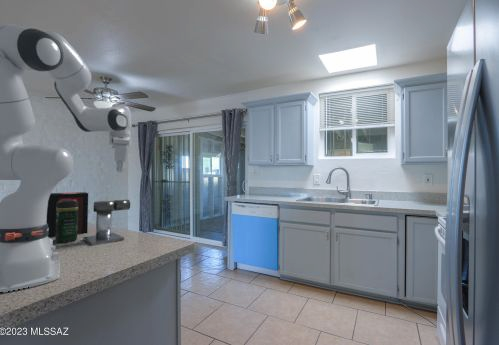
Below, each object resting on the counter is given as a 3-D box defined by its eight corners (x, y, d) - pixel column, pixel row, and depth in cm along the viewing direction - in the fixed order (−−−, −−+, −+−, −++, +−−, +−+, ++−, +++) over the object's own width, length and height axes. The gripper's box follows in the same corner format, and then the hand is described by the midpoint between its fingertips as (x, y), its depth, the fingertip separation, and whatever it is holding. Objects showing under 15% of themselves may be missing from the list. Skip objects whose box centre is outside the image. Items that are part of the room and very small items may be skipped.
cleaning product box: (45, 237, 118) (46, 194, 119) (45, 234, 125) (46, 193, 125) (87, 233, 129) (88, 193, 129) (84, 230, 136) (85, 192, 136)
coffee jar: (79, 241, 114) (80, 199, 114) (56, 244, 108) (57, 200, 109) (75, 237, 121) (76, 197, 121) (54, 239, 116) (55, 198, 116)
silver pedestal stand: (124, 240, 117) (124, 211, 117) (91, 245, 107) (92, 214, 107) (113, 235, 126) (114, 208, 126) (82, 239, 116) (83, 211, 117)
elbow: (96, 213, 111) (97, 202, 111) (90, 211, 116) (91, 200, 117) (131, 210, 122) (132, 200, 122) (124, 208, 127) (124, 198, 127)
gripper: (111, 142, 124) (110, 170, 125) (113, 139, 107) (112, 172, 107) (126, 143, 128) (125, 170, 128) (129, 140, 110) (128, 172, 110)
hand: (119, 171), depth 117 cm, fingers open, 8 cm apart
